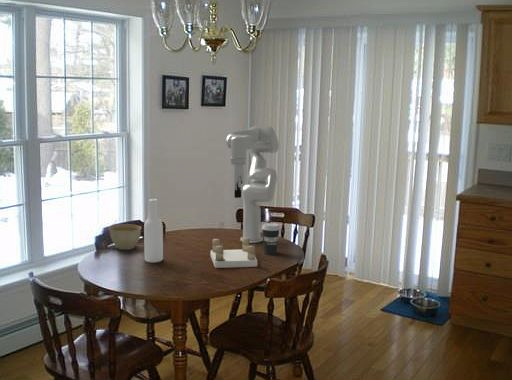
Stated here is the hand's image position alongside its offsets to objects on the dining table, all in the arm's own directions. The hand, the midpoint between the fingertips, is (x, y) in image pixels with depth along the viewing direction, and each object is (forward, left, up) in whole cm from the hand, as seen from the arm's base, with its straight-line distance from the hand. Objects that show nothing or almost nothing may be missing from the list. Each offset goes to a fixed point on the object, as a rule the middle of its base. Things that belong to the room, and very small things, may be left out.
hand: (237, 197), depth 296 cm
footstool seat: (+14, -4, -29) cm, 32 cm away
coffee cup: (+2, +17, -29) cm, 34 cm away
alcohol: (+8, -42, -29) cm, 52 cm away
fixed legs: (+14, -4, -26) cm, 30 cm away
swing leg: (+18, -12, -26) cm, 33 cm away
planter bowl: (-17, -56, -29) cm, 65 cm away
